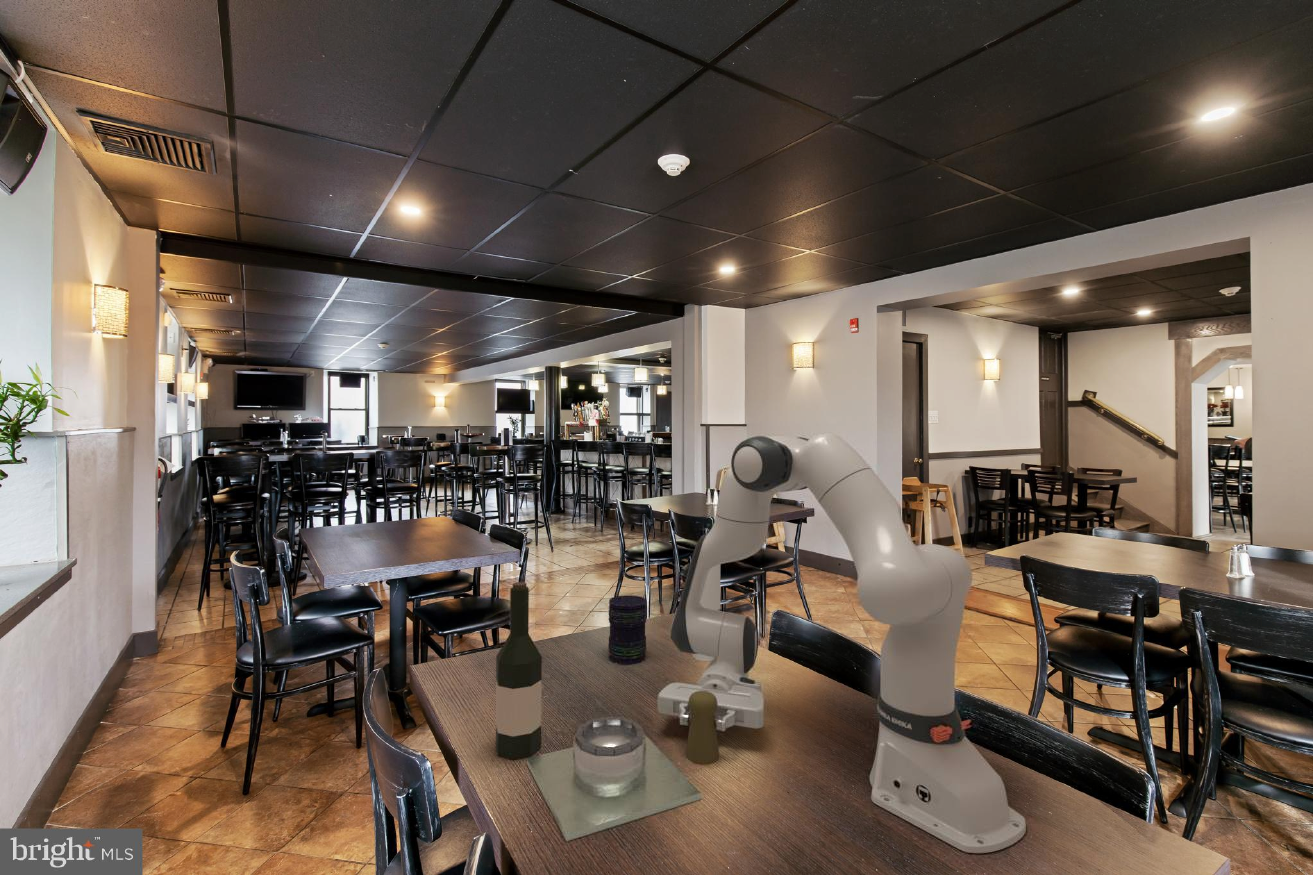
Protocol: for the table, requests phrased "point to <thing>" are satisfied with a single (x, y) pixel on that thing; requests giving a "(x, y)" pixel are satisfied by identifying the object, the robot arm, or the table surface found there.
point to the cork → (702, 729)
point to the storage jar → (627, 629)
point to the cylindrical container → (710, 599)
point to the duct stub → (608, 778)
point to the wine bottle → (518, 684)
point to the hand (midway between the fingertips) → (701, 723)
